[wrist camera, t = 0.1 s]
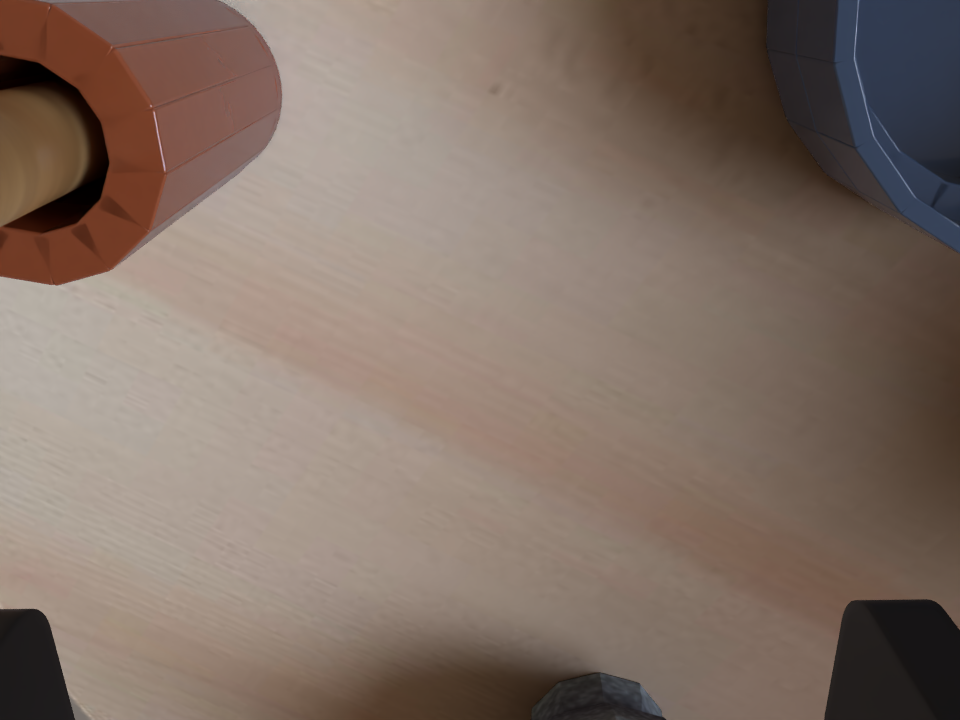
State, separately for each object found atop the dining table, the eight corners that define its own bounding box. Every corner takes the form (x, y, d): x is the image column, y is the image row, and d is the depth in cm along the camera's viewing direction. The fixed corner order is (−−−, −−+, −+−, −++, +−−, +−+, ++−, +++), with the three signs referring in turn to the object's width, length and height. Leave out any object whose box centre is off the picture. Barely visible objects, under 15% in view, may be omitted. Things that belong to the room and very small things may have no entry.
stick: (133, 87, 29) (-754, 342, 8) (182, 36, 28) (-645, 171, 7) (189, 143, 29) (-496, 508, 9) (237, 94, 29) (-379, 365, 8)
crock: (65, 80, 29) (-187, 136, 18) (186, -52, 28) (-9, -78, 17) (199, 213, 31) (43, 336, 20) (320, 95, 30) (223, 160, 18)
